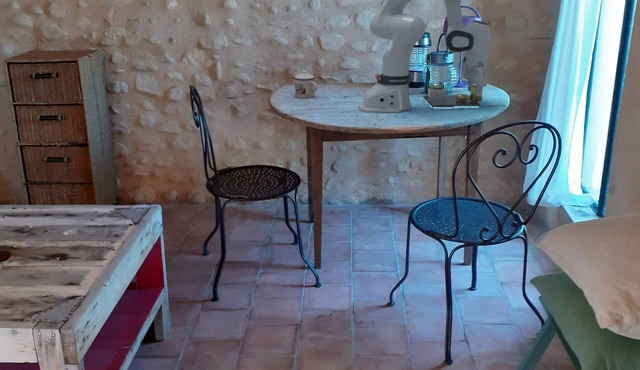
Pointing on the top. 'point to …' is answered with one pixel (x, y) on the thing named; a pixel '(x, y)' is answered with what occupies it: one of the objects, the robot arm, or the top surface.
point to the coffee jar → (427, 73)
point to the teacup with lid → (305, 85)
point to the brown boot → (472, 95)
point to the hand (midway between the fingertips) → (473, 93)
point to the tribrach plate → (445, 98)
